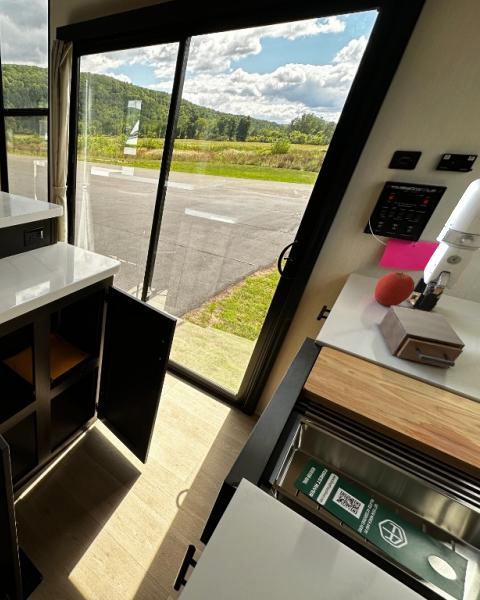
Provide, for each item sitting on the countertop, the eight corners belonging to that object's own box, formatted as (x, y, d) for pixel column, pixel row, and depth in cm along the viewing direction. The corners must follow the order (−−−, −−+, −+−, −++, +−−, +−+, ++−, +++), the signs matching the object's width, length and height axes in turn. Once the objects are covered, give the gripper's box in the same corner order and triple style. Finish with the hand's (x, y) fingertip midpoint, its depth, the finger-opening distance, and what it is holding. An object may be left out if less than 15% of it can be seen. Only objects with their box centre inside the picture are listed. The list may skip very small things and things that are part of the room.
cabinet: (447, 367, 93) (465, 345, 88) (392, 355, 98) (406, 333, 93) (426, 335, 105) (441, 314, 101) (378, 325, 110) (391, 305, 106)
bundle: (406, 299, 123) (411, 292, 121) (425, 302, 121) (430, 295, 119) (413, 310, 117) (418, 302, 115) (433, 313, 115) (438, 305, 113)
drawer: (455, 379, 88) (471, 361, 84) (402, 367, 92) (415, 349, 89) (428, 337, 103) (441, 320, 99) (384, 328, 107) (394, 312, 104)
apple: (374, 308, 119) (392, 276, 111) (363, 295, 127) (380, 264, 119) (408, 313, 116) (429, 279, 108) (394, 298, 124) (414, 267, 116)
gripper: (494, 253, 64) (443, 322, 73) (482, 229, 74) (440, 291, 83) (441, 245, 68) (400, 310, 77) (438, 223, 79) (402, 283, 88)
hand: (421, 300), depth 80 cm, fingers open, 9 cm apart
